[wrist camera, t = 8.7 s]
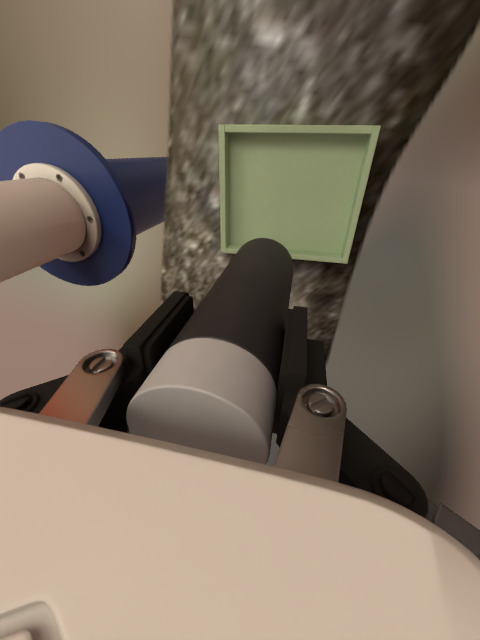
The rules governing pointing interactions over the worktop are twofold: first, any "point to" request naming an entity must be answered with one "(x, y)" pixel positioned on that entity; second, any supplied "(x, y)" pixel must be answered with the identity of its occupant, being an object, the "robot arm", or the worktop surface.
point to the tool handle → (224, 362)
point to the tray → (294, 186)
